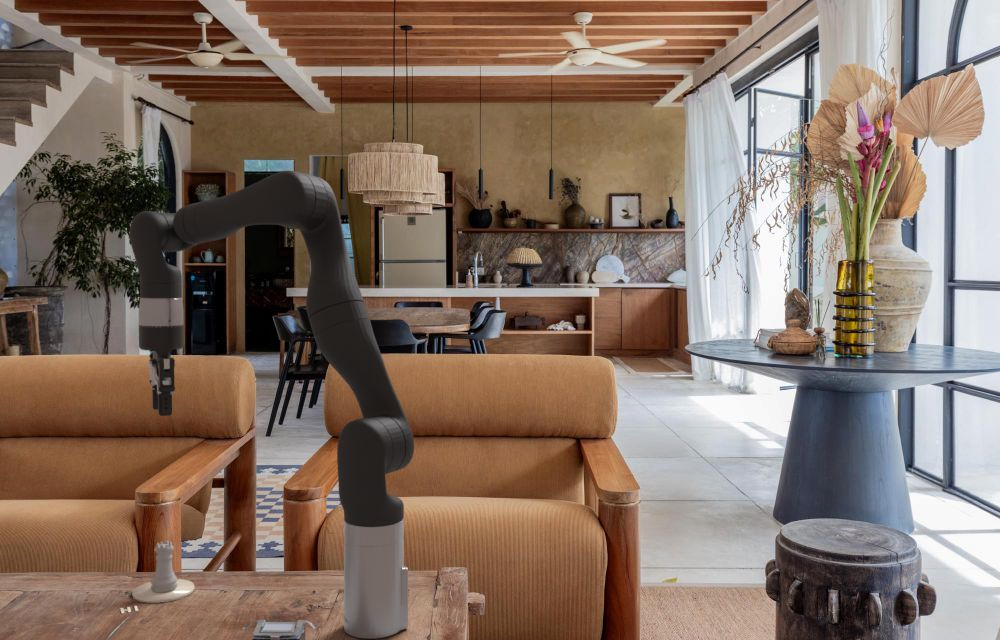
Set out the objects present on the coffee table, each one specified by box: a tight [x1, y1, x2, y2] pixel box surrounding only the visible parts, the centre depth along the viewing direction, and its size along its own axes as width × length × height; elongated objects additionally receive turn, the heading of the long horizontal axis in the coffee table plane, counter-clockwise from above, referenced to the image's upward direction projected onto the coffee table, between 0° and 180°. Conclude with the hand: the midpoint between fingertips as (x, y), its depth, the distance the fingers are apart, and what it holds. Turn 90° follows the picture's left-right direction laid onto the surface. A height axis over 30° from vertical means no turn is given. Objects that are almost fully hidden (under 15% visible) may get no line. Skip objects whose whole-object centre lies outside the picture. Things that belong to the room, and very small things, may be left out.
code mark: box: [119, 605, 139, 615], centre depth 141 cm, size 2×2×1 cm
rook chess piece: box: [150, 540, 178, 593], centre depth 149 cm, size 4×4×8 cm
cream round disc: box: [132, 578, 195, 604], centre depth 149 cm, size 10×10×1 cm
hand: (162, 412), depth 156 cm, fingers open, 8 cm apart
